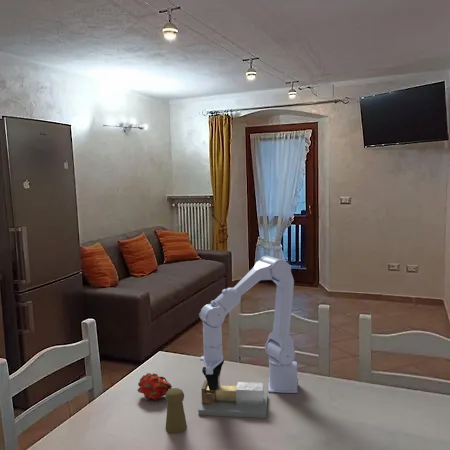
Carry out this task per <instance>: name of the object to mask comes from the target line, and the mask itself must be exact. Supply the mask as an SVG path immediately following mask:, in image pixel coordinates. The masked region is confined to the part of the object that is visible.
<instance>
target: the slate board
mask: <svg viewBox="0 0 450 450" xmlns="http://www.w3.org/2000/svg"><path fill="white" fill-rule="evenodd" d="M267 409H268V392H264V401H263V407H259V406H237V405H236V401H223V400H216V403H215V405H203V404H202V400H201V402H200V405H199V407H198V411H197V412H198V415H199V416H214V417H215V416H217V417H218V416H220V417H221V416H222V417H236V418H237V417H238V418H256V419H257V418H259V419H266V418H267Z"/></svg>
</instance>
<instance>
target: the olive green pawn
mask: <svg viewBox="0 0 450 450" xmlns="http://www.w3.org/2000/svg"><path fill="white" fill-rule="evenodd" d="M164 396H165V400H166V402H167V408H166V418H165V431H166V432H167V433H169V434H174V435H175V434H176V435H177V434H180V433H181V434H182V433H183V432H185V431H186V430H187V427H188V426H187V425H188V424H187V419H186V415H185V408H184V403H183V401H184V399H185V394H184V391H183V389H181V388H179V387H175V388H174V387H172V389H170V390H168V391H167V393H166V395H164Z"/></svg>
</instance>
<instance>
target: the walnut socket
mask: <svg viewBox="0 0 450 450" xmlns="http://www.w3.org/2000/svg"><path fill="white" fill-rule="evenodd" d="M207 385H208V383H207V380H204V381H203V384H202V386H201V401H202V404H203V405H215V403H216V400H215V393H209V392H206V387H207Z"/></svg>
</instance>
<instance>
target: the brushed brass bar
mask: <svg viewBox="0 0 450 450" xmlns="http://www.w3.org/2000/svg"><path fill="white" fill-rule="evenodd" d="M220 378H221V375H220V376H219V377H218V384H217V389H216V391H214V390H209V387H208V385H207V387H206V392H209V393H215V400H223V401H236V387H237V385H224V384H223V385H221V384H220V383H221V382H220V380H221V379H220Z"/></svg>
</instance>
